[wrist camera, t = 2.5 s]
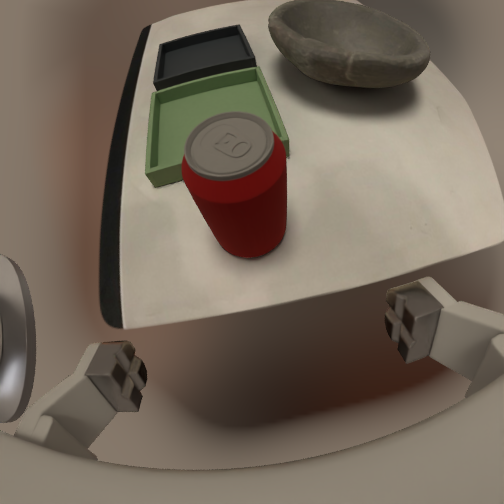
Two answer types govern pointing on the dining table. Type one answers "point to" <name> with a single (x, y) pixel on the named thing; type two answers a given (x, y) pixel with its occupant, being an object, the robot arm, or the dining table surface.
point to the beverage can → (238, 181)
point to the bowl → (348, 43)
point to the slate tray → (202, 56)
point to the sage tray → (202, 116)
